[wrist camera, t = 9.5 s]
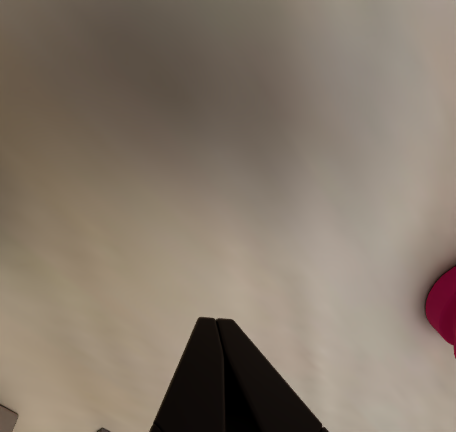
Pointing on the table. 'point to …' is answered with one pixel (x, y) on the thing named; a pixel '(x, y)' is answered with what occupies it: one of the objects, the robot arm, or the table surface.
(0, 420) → the cookie box
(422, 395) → the table surface
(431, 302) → the pepper mill
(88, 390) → the table surface
